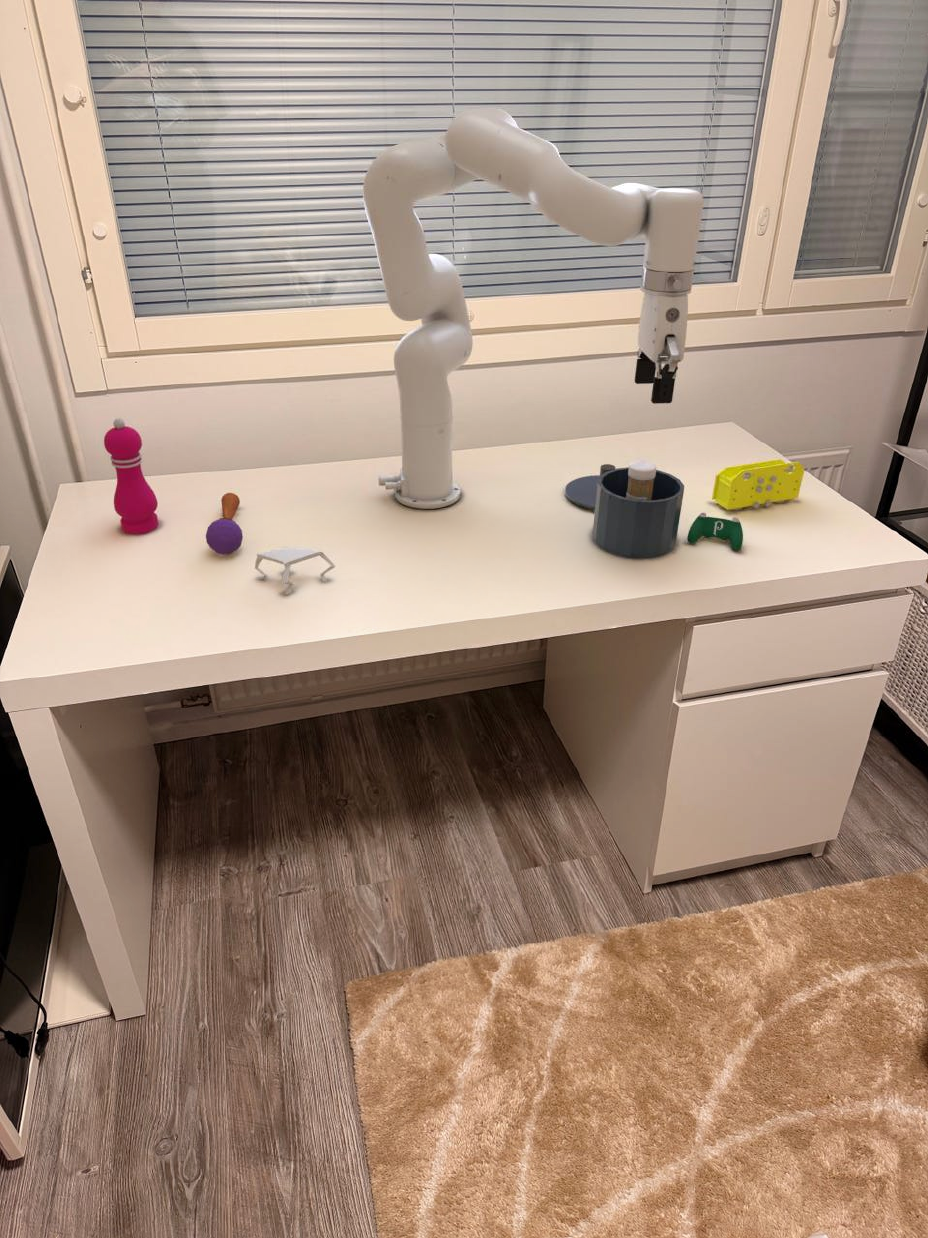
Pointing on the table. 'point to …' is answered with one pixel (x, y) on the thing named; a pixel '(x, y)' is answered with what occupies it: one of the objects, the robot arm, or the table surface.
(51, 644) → the table surface
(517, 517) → the table surface
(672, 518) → the pot
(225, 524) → the purple maraca
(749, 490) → the yellow toy chassis
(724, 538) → the gaming controller
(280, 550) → the grey toy table
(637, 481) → the sprinkles bottle
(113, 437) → the pepper mill
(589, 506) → the lid
